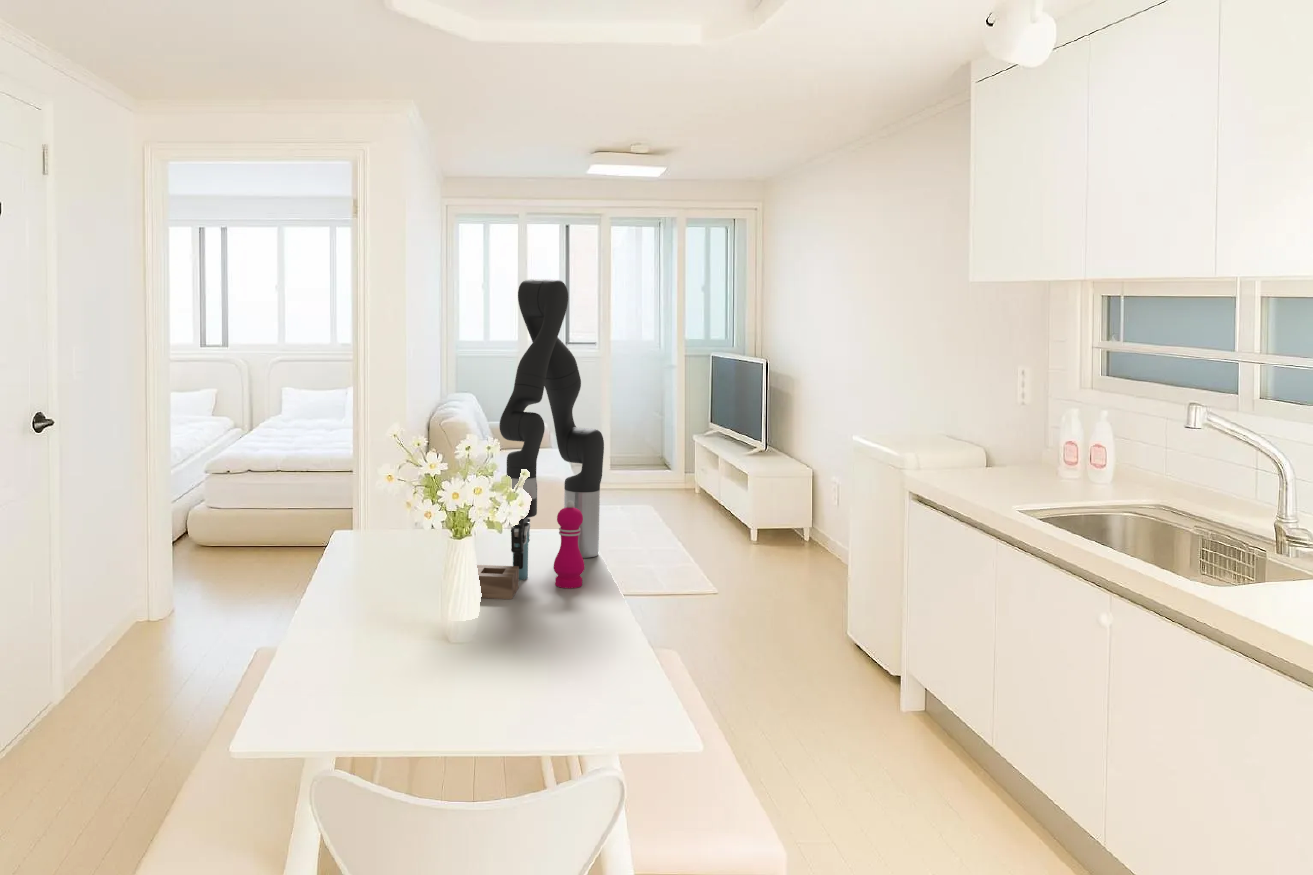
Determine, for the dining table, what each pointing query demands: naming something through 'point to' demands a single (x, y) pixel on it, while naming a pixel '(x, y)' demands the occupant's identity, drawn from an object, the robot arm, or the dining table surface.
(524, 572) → the peg
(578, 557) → the pepper mill
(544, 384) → the robot arm
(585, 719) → the dining table surface
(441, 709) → the dining table surface
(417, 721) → the dining table surface
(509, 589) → the socket block
